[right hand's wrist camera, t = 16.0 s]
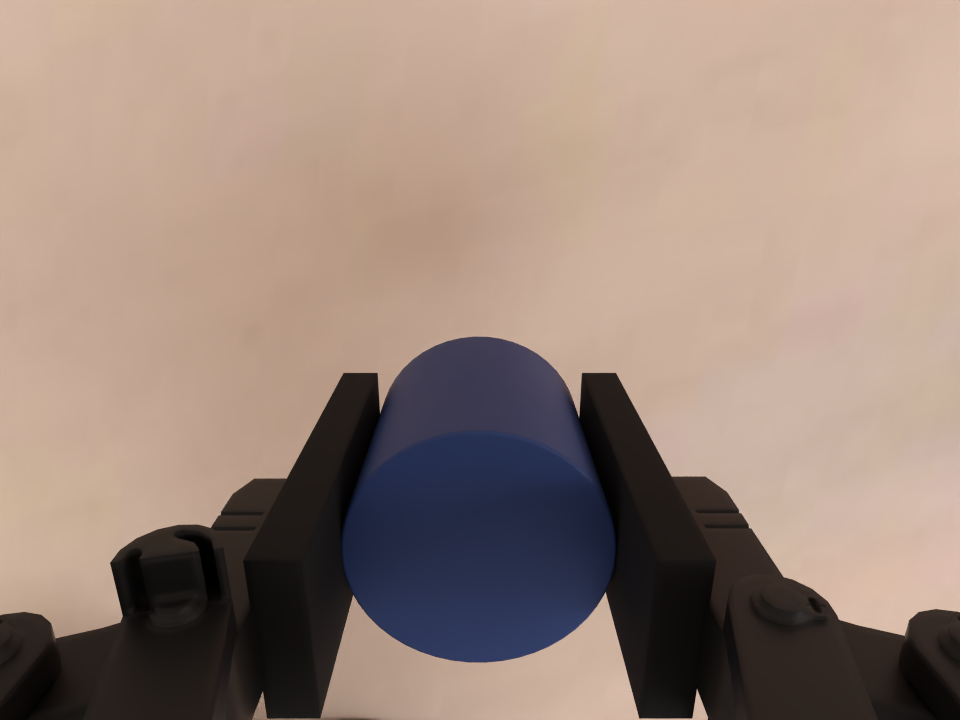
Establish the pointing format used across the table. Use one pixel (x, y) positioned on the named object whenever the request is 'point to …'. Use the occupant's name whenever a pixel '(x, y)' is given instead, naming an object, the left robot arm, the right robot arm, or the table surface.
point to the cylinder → (478, 507)
